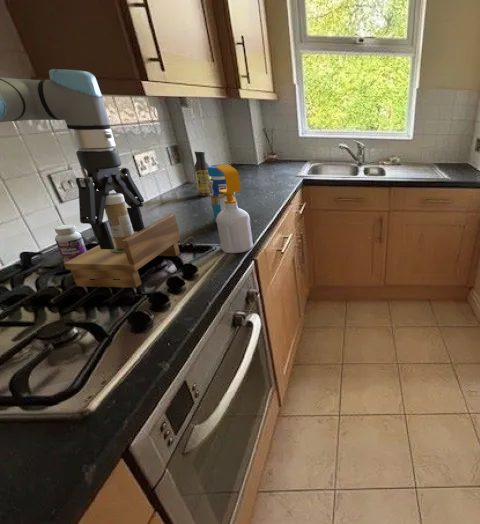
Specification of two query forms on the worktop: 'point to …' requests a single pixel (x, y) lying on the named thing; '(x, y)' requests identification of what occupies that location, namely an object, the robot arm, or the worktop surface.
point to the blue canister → (217, 189)
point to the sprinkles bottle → (118, 218)
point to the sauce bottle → (202, 174)
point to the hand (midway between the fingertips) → (124, 239)
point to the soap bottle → (233, 216)
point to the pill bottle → (69, 242)
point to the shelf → (126, 256)
